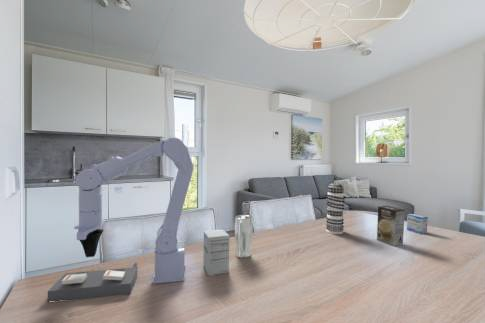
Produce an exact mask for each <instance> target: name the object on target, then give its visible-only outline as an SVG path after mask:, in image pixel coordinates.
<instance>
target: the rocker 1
mask: <svg viewBox="0 0 485 323" xmlns="http://www.w3.org/2000/svg"><path fill="white" fill-rule="evenodd" d="M86 278H87V273H85V274H74V275H67V276H66V277H65V278H64V279H63V280H62V284H72V283H83V281H84V280H85V279H86Z"/></svg>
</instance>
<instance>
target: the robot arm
mask: <svg viewBox="0 0 485 323" xmlns="http://www.w3.org/2000/svg"><path fill="white" fill-rule="evenodd" d="M164 155H165V156H166V157H167V158H168V159H170V160H171V161H172V162H173V164H174V166H175V168H176V169H177V173H176V175H175V180H174V183H173V186H172V190H171V195H170V198H169V201H168V206H167V209H166V213H165V216H164V219H163V222H162V224H161V225H160V227H159V228H158V230H157V232H156V238H155V242H154V245H155V247H154V272H153V276H152V279H151V284H162V283H173V282H175V283H176V282H183V281H185V271H186V264H185V247H180V246H179V244H178V236H177V235H178V234H177V233H178V229H179V225H180V224H179V223H180V219H181V216H182V211H183V210H184V209H183V207H184V205H185V201H186V197H187V194H188V190H189V187H190V186H189V185H190V183H191V180H192V175H193V173H194V164H193V162H192V158H191V155H190V152H189V149H188V147H187V146H186V144H184V141H182V140H181V139H180V138H178V137H169V138H167V139H166V140H164V139H163V140H161V141H157V142H154V143H151V144H148V145H147V146H146V147H144V148H141V149H139V150H137V151H135V152H133V153H131V154H129V155H126V156H125V157H121V156H112V155H111V156H109V157H107V160H106V161H103V162H101V163H98V164H96V163H95V164H92V165H91V168H85V169H83V170H81V171H80V172H79V173H78V174H77V175H76V177H75V184H76V186H77V187H78V224H76V225H74V227H73V229H74V230H77V232H76V241H79V242H80V244H81V245H82V249H83V251H84V255H85V257H86V258H94V257H95V256H96V254H97V250H98V245H99V241H100V239H101V237H102V234H103V232H104V229H103V217H102V216H103V214H102V212H103V210H102V209H103V199H102V198H103V196H102V195H103V194H102V185H104V183H106V184H107V183H108V182H111V181H113V180H115V179H117V178H118V177H122V176H123V175H126V174H127V173H128V170H129V168H130V167H132V166H135V165H136V164H139V163H141V162H143V161H146V160H148V159H151V158H153V157H164Z"/></svg>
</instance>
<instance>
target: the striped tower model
mask: <svg viewBox="0 0 485 323" xmlns="http://www.w3.org/2000/svg"><path fill="white" fill-rule="evenodd" d="M344 189H345V187H344V185H343V184H341V183H338V182H337V183H334V182H332V183H330V184H329V185H328V186H327V193H326V196H325V197H326V209H327V212H326V213H327V214H326V224H325V231H326V233H329V234H332V235H333V234H334V235H342V234H344V227H345V226H344V224H345V222H344V220H345V219H344V212H345V211H344V210H345V207H344V206H345V202H346V200H345V199H346V198H345V197H344V196H345V193H344Z"/></svg>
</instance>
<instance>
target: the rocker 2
mask: <svg viewBox="0 0 485 323" xmlns="http://www.w3.org/2000/svg"><path fill="white" fill-rule="evenodd" d="M106 270H107V271H106V272H105V274H104V275H103V279H108V280H122V279H123V277H124V275H125V272H124V271H111V270H109V269H106Z"/></svg>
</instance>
